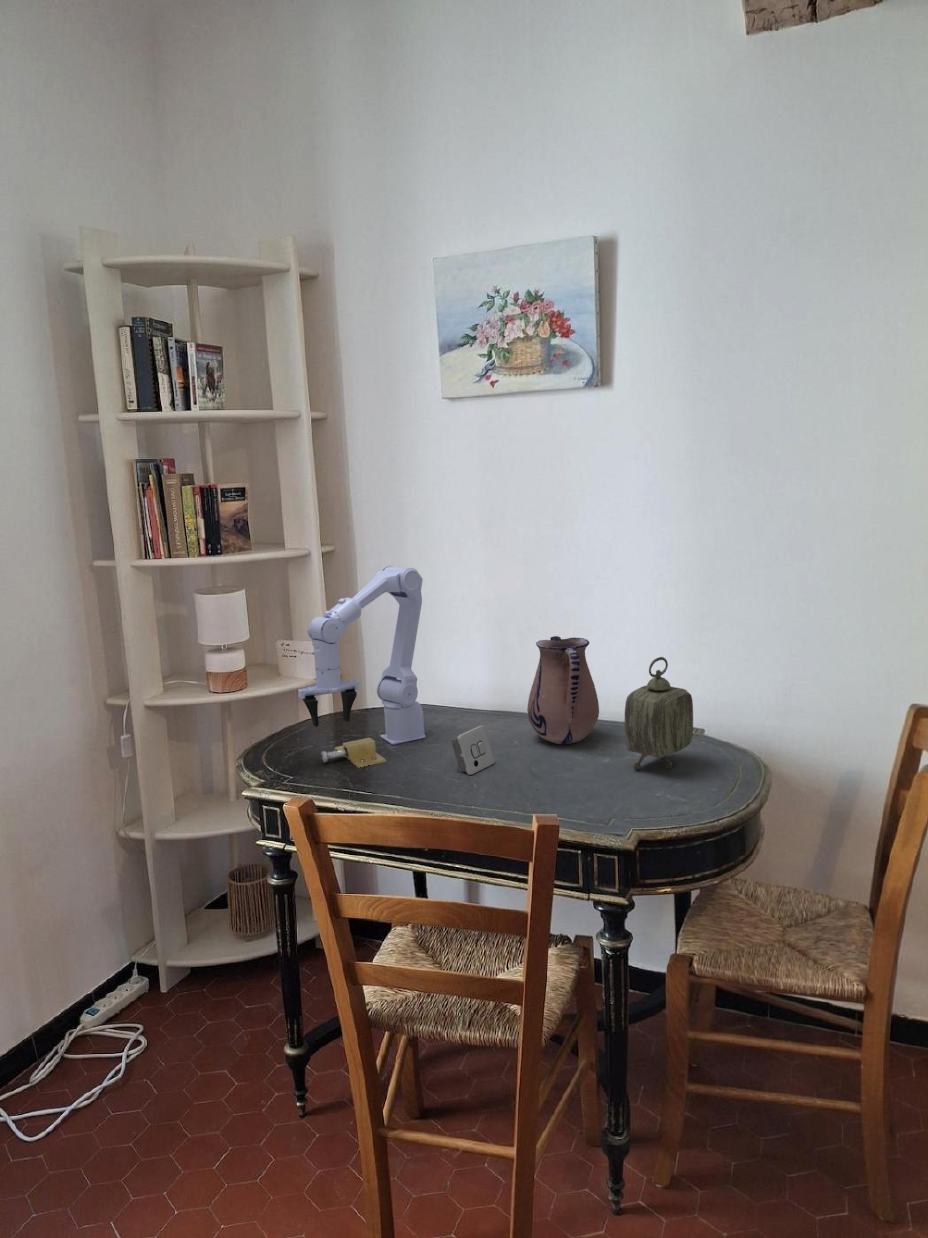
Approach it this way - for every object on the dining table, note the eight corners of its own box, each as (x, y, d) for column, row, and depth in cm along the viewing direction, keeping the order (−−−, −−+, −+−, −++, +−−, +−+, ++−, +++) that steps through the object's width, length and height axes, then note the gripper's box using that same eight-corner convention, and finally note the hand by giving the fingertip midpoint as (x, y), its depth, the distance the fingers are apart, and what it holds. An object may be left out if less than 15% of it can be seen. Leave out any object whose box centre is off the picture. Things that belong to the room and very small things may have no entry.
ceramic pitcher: (580, 724, 238) (577, 630, 234) (619, 748, 219) (616, 646, 214) (518, 734, 233) (514, 638, 228) (551, 759, 213) (548, 655, 209)
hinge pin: (355, 753, 224) (355, 743, 224) (359, 756, 222) (359, 746, 221) (322, 760, 220) (321, 750, 220) (325, 763, 218) (324, 753, 217)
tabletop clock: (661, 753, 214) (660, 649, 209) (696, 761, 207) (695, 654, 202) (625, 771, 204) (623, 662, 199) (659, 780, 197) (658, 667, 193)
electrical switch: (470, 776, 206) (465, 736, 204) (453, 774, 209) (447, 735, 208) (495, 764, 213) (490, 725, 212) (478, 762, 216) (473, 724, 215)
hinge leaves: (361, 744, 232) (360, 731, 231) (386, 761, 218) (385, 748, 217) (335, 749, 229) (333, 736, 228) (358, 768, 215) (357, 754, 214)
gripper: (302, 675, 209) (307, 732, 212) (362, 666, 216) (365, 721, 218) (293, 669, 216) (298, 724, 218) (352, 661, 222) (355, 715, 224)
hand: (331, 723), depth 219 cm, fingers open, 7 cm apart
